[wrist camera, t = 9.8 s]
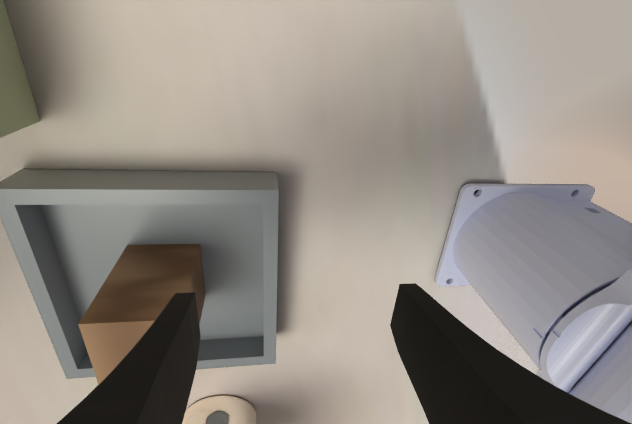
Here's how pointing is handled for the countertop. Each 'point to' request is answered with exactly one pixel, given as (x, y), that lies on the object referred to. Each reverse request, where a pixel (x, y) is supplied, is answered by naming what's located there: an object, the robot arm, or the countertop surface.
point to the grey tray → (141, 229)
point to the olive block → (13, 82)
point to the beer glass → (220, 411)
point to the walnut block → (138, 299)
